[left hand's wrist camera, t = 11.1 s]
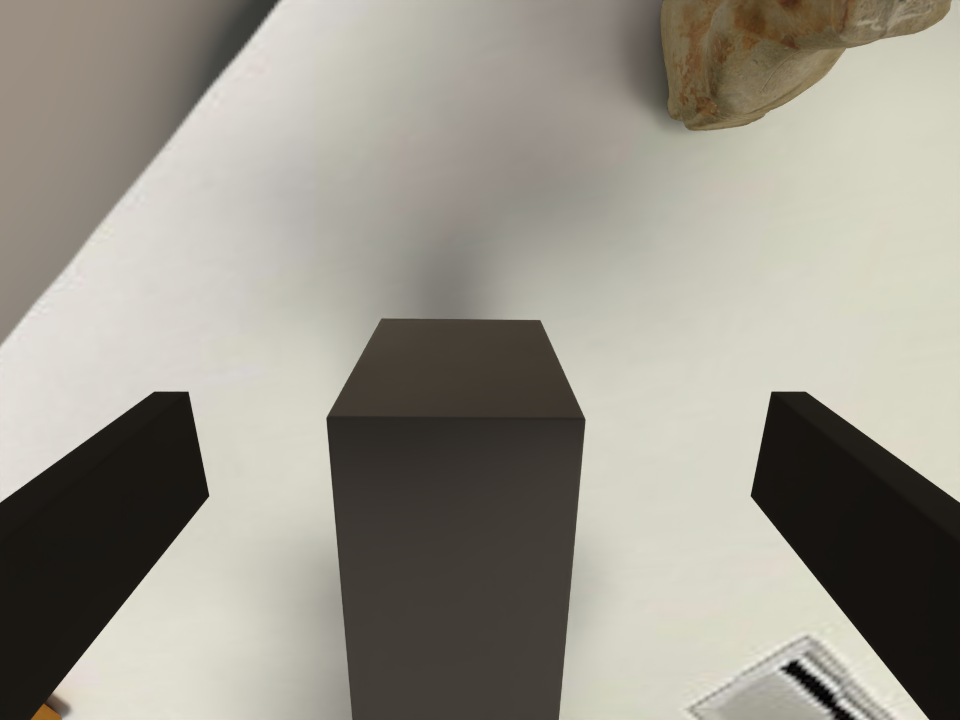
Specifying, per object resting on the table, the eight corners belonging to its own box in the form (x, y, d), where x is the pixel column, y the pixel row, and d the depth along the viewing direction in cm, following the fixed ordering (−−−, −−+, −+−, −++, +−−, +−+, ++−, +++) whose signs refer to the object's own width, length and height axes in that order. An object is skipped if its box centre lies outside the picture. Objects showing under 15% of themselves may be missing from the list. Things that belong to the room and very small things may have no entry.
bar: (380, 318, 20) (325, 416, 12) (541, 319, 20) (586, 418, 12) (404, 818, 29) (381, 1054, 22) (513, 816, 30) (529, 1051, 22)
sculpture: (759, -25, 28) (1056, -213, 14) (745, 128, 30) (986, 101, 16) (644, -16, 28) (825, -195, 14) (640, 136, 30) (789, 116, 16)
